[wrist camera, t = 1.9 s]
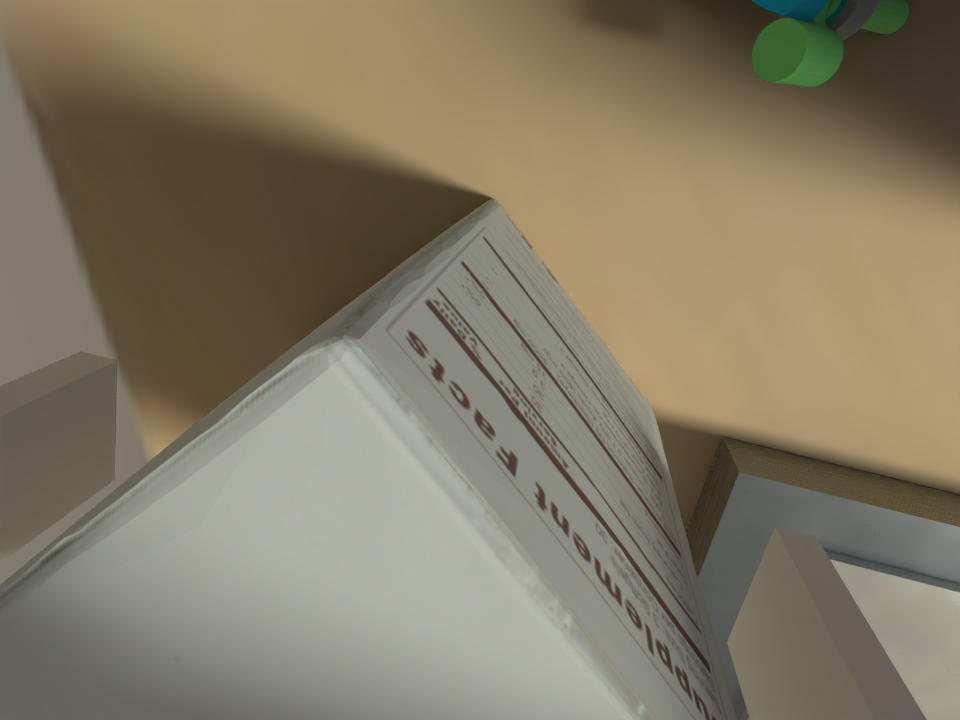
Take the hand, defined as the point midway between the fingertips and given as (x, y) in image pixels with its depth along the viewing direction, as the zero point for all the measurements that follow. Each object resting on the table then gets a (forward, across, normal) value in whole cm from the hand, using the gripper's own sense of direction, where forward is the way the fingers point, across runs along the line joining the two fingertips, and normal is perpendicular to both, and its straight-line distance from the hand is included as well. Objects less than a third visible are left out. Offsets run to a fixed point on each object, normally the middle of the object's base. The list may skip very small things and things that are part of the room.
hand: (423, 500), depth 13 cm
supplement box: (+6, 0, 0) cm, 6 cm away
